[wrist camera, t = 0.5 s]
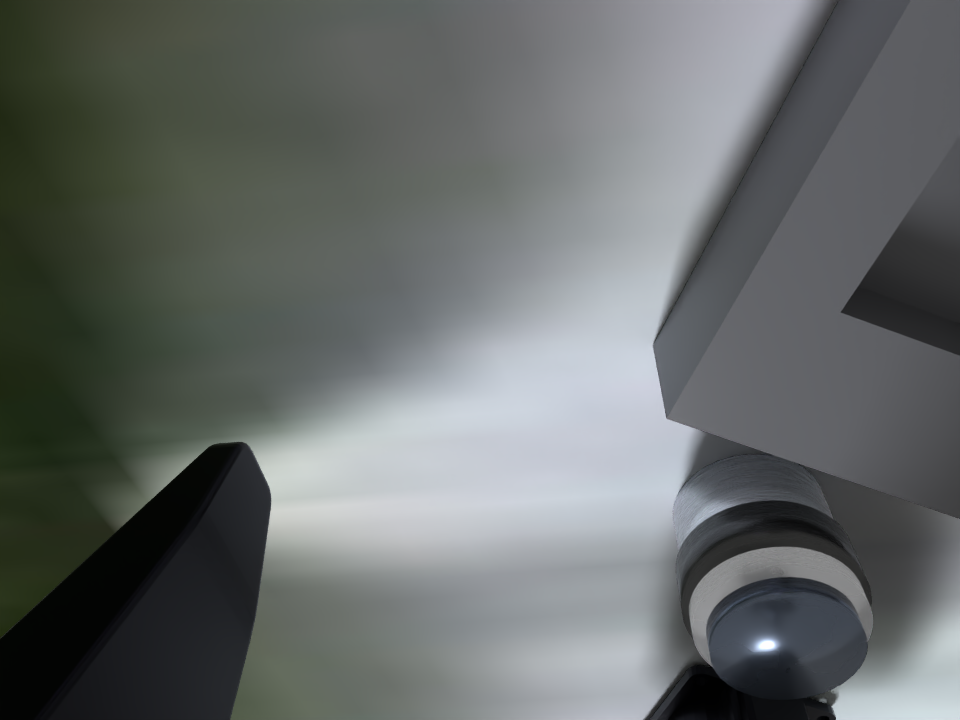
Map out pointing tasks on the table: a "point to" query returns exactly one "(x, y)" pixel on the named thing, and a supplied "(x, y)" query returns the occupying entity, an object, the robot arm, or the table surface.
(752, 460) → the lens
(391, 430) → the table surface
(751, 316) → the camera body
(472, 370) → the table surface
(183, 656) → the robot arm
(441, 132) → the table surface
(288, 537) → the table surface
